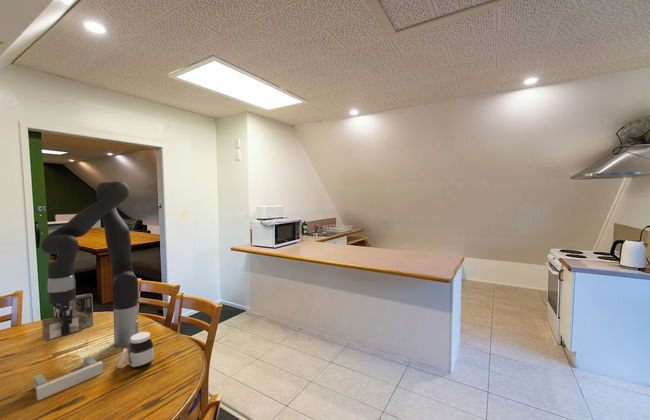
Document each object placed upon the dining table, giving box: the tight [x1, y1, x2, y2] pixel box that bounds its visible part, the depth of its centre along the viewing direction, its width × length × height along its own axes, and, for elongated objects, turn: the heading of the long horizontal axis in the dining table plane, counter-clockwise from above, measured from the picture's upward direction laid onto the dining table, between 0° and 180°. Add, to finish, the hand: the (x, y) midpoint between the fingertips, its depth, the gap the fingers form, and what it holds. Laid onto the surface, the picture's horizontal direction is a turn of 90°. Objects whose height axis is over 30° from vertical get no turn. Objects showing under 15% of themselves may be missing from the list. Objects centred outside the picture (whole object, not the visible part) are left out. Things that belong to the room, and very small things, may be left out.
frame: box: [41, 311, 83, 343], centre depth 105 cm, size 10×4×7 cm, turn 146°
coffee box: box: [69, 292, 94, 329], centre depth 147 cm, size 9×6×16 cm
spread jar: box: [116, 331, 155, 370], centre depth 114 cm, size 12×11×12 cm
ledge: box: [33, 355, 104, 402], centre depth 104 cm, size 18×10×4 cm, turn 147°
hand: (63, 332), depth 105 cm, fingers closed on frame, 4 cm apart
